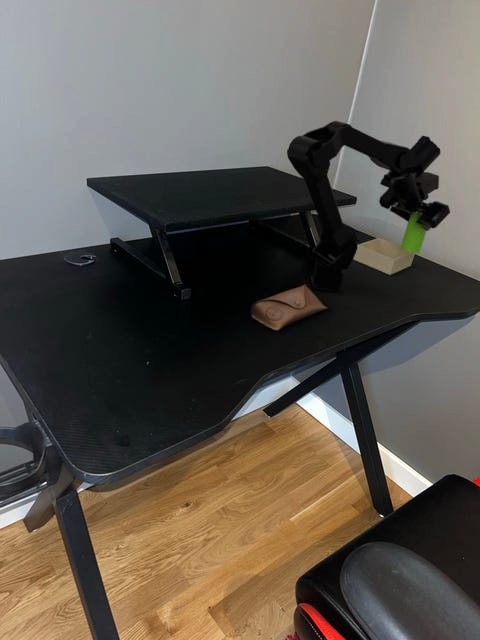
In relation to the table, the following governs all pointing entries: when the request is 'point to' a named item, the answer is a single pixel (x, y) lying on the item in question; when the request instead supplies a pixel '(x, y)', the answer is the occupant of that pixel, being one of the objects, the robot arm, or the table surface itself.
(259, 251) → the table surface
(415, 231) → the drink can
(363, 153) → the robot arm
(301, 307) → the sunglasses case
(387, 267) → the tote
